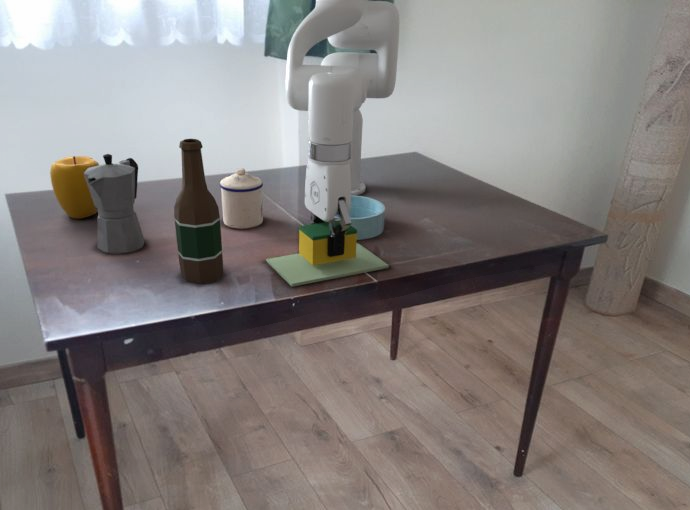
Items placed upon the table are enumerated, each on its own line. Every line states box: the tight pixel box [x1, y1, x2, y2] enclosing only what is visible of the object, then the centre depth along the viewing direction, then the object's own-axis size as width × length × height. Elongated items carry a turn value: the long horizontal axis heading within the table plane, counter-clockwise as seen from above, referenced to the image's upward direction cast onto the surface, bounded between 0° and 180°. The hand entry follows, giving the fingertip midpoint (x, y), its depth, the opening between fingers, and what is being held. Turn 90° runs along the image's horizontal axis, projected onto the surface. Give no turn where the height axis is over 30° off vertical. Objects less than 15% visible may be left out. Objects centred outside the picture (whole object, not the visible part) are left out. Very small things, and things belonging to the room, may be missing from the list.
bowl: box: [334, 195, 386, 241], centre depth 135 cm, size 15×15×5 cm
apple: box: [49, 155, 100, 220], centre depth 137 cm, size 11×11×13 cm
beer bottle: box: [173, 138, 224, 285], centre depth 109 cm, size 8×8×24 cm
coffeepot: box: [84, 153, 145, 255], centre depth 123 cm, size 15×9×18 cm, turn 162°
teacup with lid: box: [219, 167, 264, 230], centre depth 137 cm, size 12×9×12 cm
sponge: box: [298, 221, 358, 265], centre depth 118 cm, size 9×6×6 cm, turn 116°
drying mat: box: [266, 242, 390, 287], centre depth 120 cm, size 20×12×1 cm, turn 116°
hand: (327, 247), depth 118 cm, fingers closed on sponge, 6 cm apart
